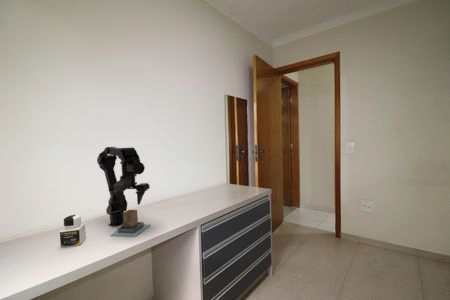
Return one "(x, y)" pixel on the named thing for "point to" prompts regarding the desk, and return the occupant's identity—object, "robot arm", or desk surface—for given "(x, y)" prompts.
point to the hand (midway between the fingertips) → (130, 204)
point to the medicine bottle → (72, 231)
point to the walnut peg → (130, 219)
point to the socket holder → (131, 230)
